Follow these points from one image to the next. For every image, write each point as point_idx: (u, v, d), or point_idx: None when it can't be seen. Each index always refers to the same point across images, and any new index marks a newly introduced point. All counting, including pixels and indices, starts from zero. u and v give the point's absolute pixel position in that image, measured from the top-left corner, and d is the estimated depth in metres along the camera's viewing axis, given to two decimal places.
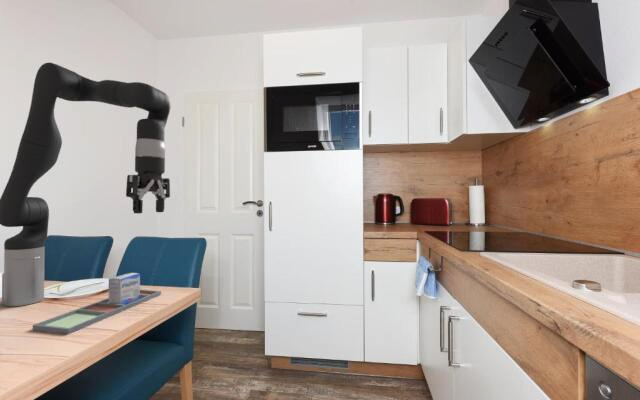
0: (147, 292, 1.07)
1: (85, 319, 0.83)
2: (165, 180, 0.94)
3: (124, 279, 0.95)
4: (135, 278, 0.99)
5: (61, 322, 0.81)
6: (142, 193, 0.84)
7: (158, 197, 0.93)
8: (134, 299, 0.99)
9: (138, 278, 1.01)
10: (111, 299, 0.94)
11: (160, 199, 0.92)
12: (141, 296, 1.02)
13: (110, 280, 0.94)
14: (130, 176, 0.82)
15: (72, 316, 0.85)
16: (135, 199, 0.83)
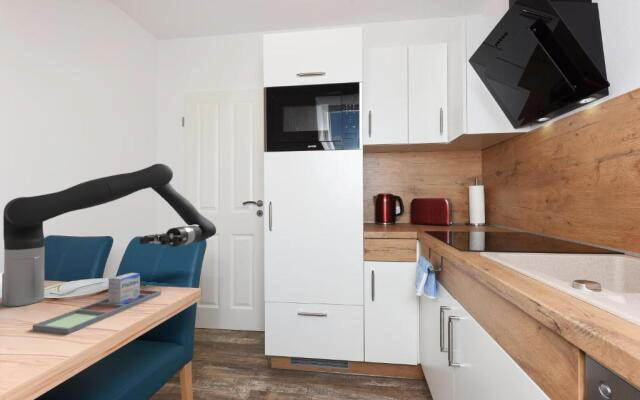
0: (147, 292, 1.07)
1: (85, 319, 0.83)
2: (157, 239, 1.19)
3: (124, 279, 0.95)
4: (135, 278, 0.99)
5: (61, 322, 0.81)
6: None
7: (150, 238, 1.14)
8: (134, 299, 0.99)
9: (138, 278, 1.01)
10: (111, 299, 0.94)
11: (149, 240, 1.13)
12: (141, 296, 1.02)
13: (110, 280, 0.94)
14: (185, 238, 1.17)
15: (72, 316, 0.85)
16: (171, 241, 1.11)
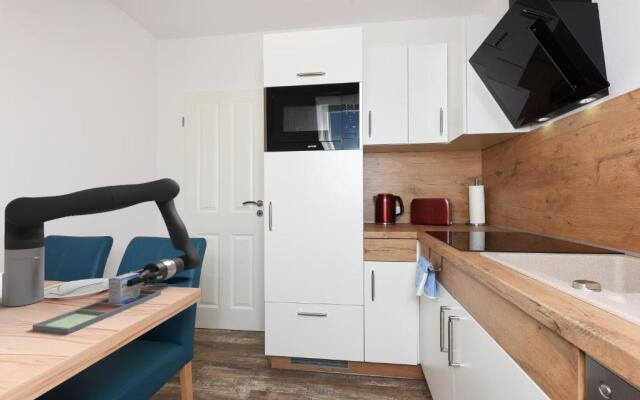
0: (147, 292, 1.07)
1: (85, 319, 0.83)
2: None
3: (124, 279, 0.95)
4: None
5: (61, 322, 0.81)
6: None
7: None
8: (134, 299, 0.99)
9: None
10: (111, 299, 0.94)
11: None
12: (141, 296, 1.02)
13: (110, 280, 0.94)
14: (161, 276, 1.05)
15: (72, 316, 0.85)
16: (139, 281, 0.99)
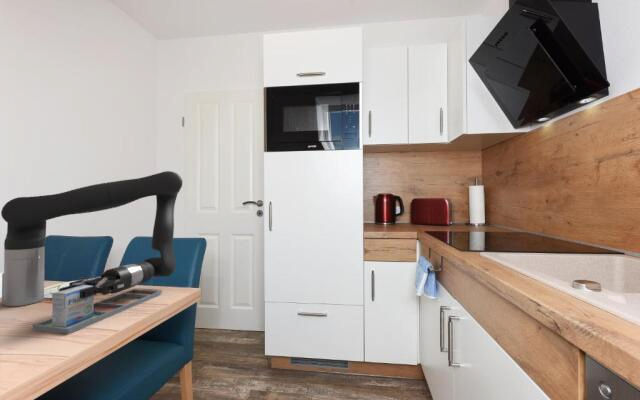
0: (147, 292, 1.07)
1: None
2: None
3: (71, 294, 0.79)
4: None
5: None
6: None
7: (76, 286, 0.86)
8: (86, 317, 0.83)
9: None
10: (55, 318, 0.78)
11: None
12: (141, 296, 1.02)
13: (54, 295, 0.78)
14: (123, 284, 0.89)
15: None
16: (96, 291, 0.84)
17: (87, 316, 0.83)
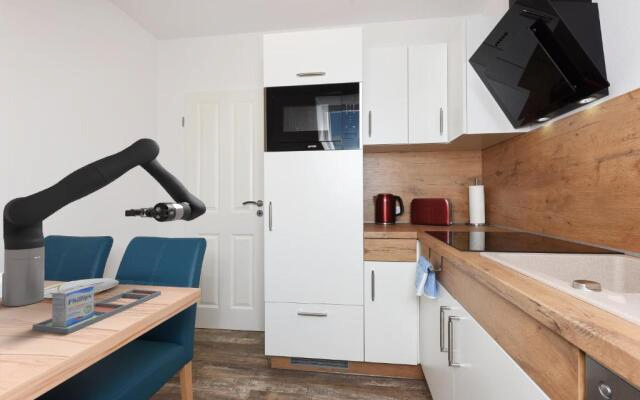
0: (147, 292, 1.07)
1: None
2: (143, 214, 1.16)
3: (71, 294, 0.79)
4: (87, 292, 0.83)
5: None
6: (158, 216, 1.10)
7: (136, 211, 1.11)
8: (86, 317, 0.83)
9: (91, 291, 0.85)
10: (55, 318, 0.78)
11: (135, 213, 1.10)
12: (141, 296, 1.02)
13: (54, 295, 0.78)
14: (173, 212, 1.14)
15: None
16: (158, 214, 1.08)
17: (87, 316, 0.83)
